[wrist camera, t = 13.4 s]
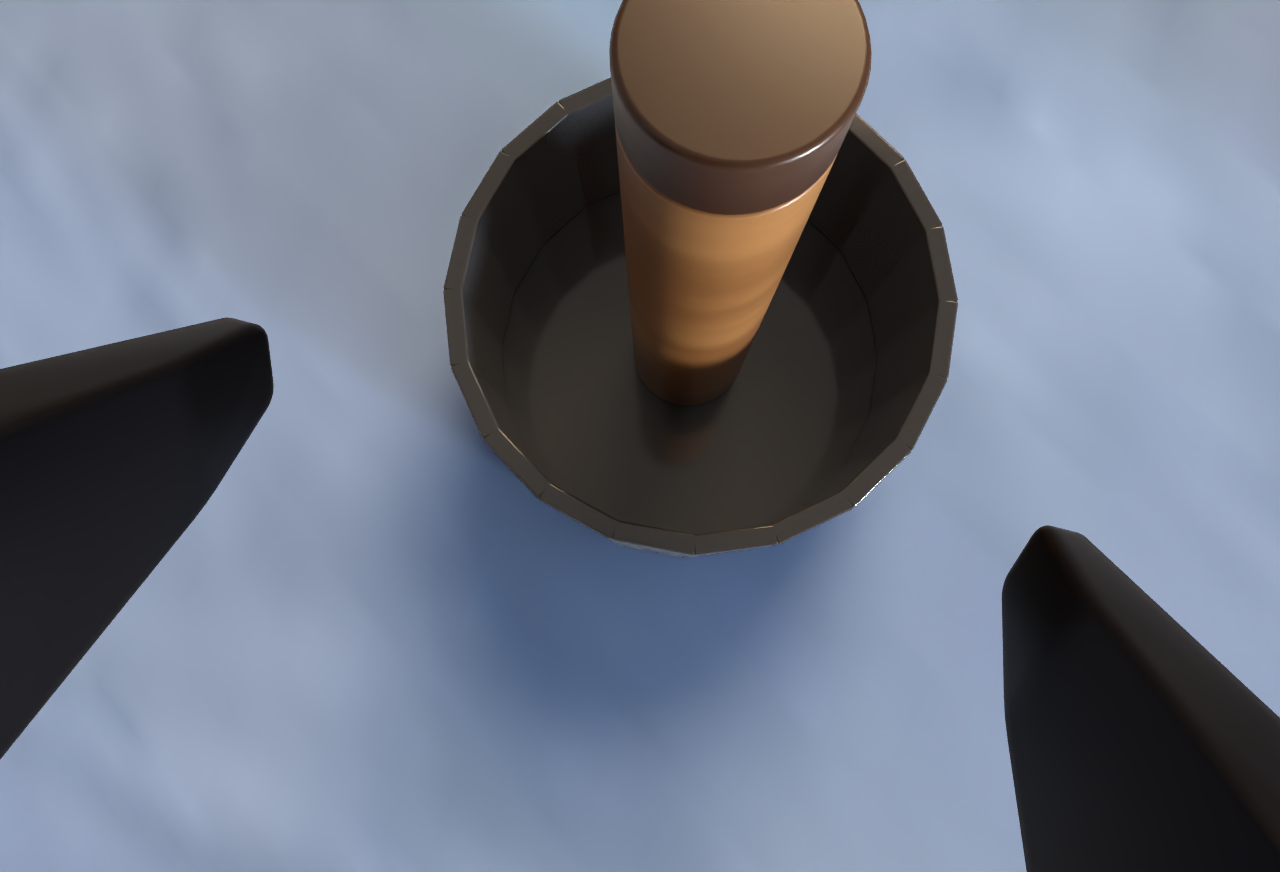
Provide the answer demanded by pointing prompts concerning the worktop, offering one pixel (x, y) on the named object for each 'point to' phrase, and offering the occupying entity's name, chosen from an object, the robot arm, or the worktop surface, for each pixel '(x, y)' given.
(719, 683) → the worktop surface
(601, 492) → the bowl
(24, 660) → the robot arm
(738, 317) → the stick
